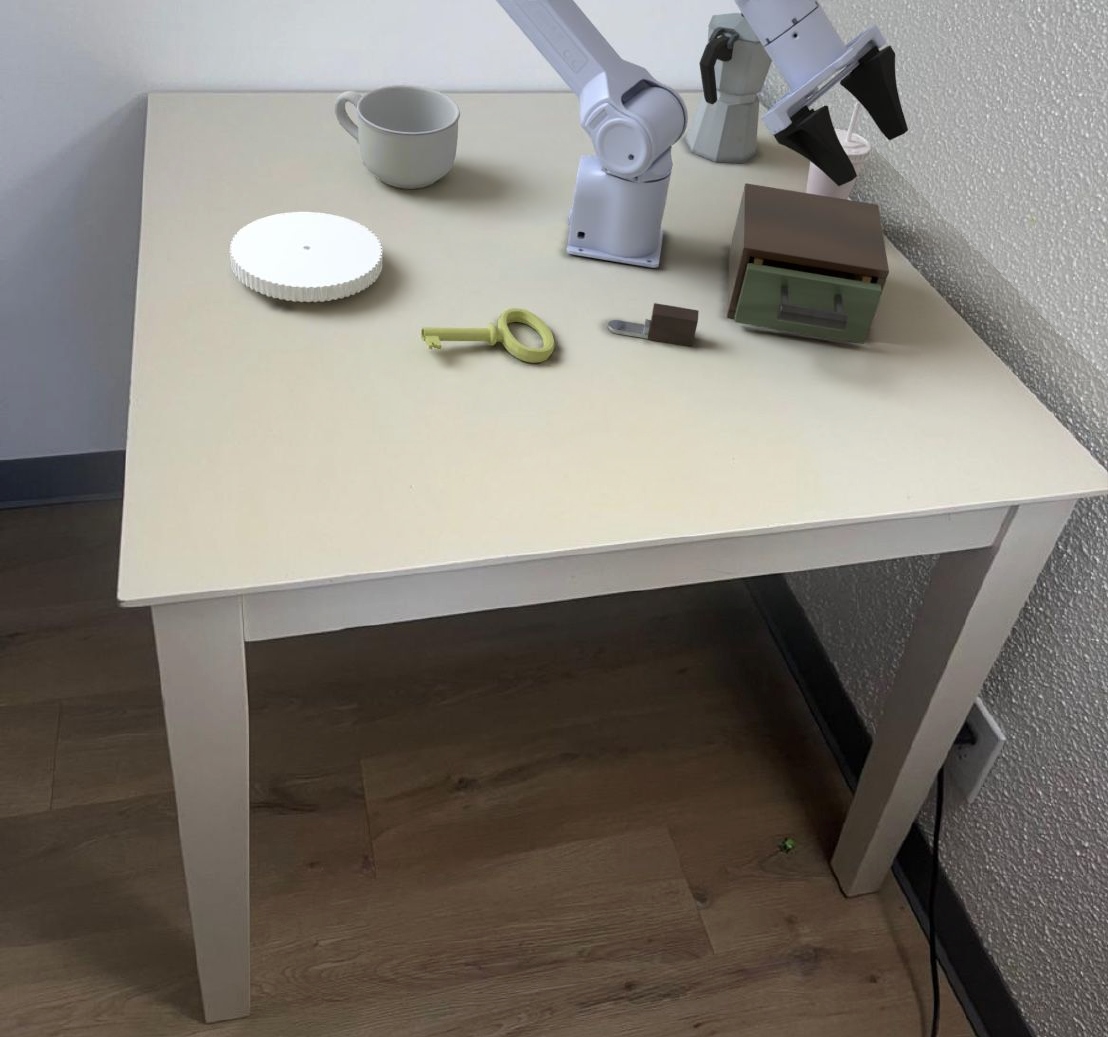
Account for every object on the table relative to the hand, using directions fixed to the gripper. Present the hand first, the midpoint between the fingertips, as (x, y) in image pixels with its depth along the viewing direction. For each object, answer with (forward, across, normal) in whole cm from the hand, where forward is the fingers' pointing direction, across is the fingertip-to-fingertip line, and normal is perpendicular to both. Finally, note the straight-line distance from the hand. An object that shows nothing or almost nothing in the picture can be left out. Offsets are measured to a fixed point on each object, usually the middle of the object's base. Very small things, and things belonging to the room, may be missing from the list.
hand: (873, 158), depth 105 cm
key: (-7, -34, +15) cm, 38 cm away
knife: (+1, -22, +13) cm, 25 cm away
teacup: (-26, -21, +40) cm, 52 cm away
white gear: (-22, -40, +28) cm, 53 cm away
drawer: (+9, -8, +10) cm, 16 cm away
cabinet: (+8, -5, +14) cm, 17 cm away
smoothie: (+6, +9, +23) cm, 25 cm away
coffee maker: (-6, +14, +37) cm, 40 cm away
